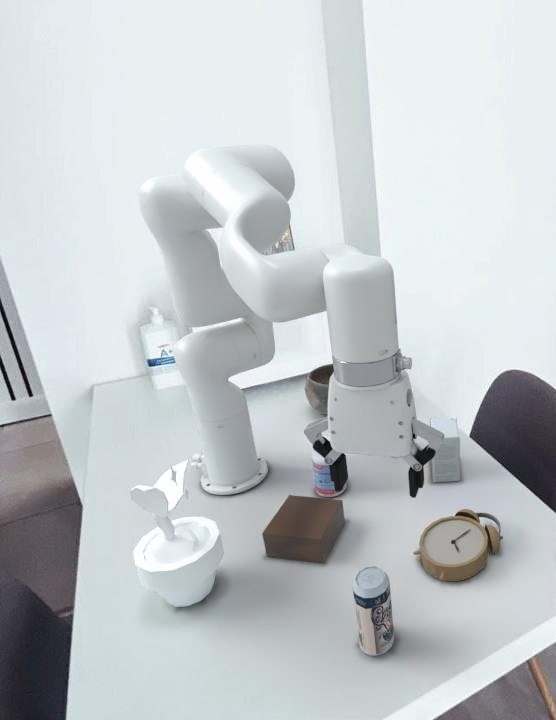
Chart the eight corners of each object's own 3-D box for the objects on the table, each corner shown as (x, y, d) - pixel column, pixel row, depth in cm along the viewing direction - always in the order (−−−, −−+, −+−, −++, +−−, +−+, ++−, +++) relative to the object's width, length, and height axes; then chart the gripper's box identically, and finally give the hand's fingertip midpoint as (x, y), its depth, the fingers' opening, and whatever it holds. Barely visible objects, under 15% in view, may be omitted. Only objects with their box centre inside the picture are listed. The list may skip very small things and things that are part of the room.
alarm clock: (404, 540, 89) (471, 490, 97) (409, 561, 92) (475, 510, 99) (447, 580, 81) (516, 522, 89) (452, 601, 84) (519, 543, 92)
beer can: (387, 661, 73) (381, 594, 68) (354, 654, 74) (345, 588, 69) (398, 630, 77) (393, 566, 72) (367, 625, 78) (359, 561, 73)
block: (266, 556, 90) (261, 533, 88) (292, 517, 99) (289, 494, 97) (323, 563, 89) (320, 539, 87) (345, 522, 98) (342, 499, 96)
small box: (431, 460, 116) (429, 417, 111) (457, 459, 116) (456, 415, 112) (432, 483, 108) (430, 438, 104) (460, 481, 109) (459, 436, 104)
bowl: (312, 398, 142) (307, 363, 138) (372, 394, 143) (369, 360, 139) (303, 425, 129) (298, 387, 125) (369, 421, 131) (366, 384, 127)
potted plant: (202, 628, 78) (162, 484, 68) (130, 617, 79) (80, 475, 69) (249, 563, 89) (221, 431, 79) (185, 554, 91) (149, 425, 81)
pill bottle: (309, 493, 106) (302, 444, 101) (329, 476, 111) (323, 428, 106) (334, 501, 103) (328, 451, 99) (353, 484, 108) (348, 435, 104)
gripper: (446, 355, 65) (450, 475, 72) (308, 350, 67) (324, 466, 74) (435, 383, 58) (440, 512, 65) (281, 375, 60) (301, 501, 67)
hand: (378, 488), depth 69 cm, fingers open, 9 cm apart
